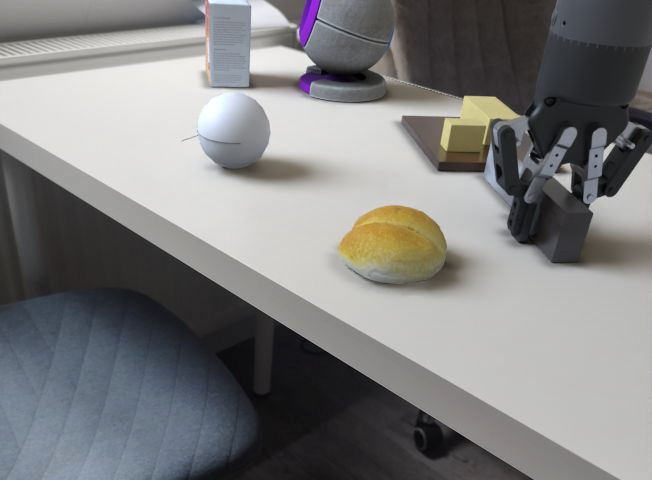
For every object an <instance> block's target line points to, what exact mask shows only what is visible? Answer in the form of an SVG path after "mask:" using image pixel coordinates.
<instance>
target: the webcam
mask: <svg viewBox="0 0 652 480" xmlns="http://www.w3.org/2000/svg"><path fill="white" fill-rule="evenodd" d="M300 19H301V20H300V23H299V28H298V37H299V42H300V45H301V47H302V49H303V50H304V52H305V54H306V56H307V57H308V58H309V60H310V61H311V62H312V63H313V64H314V65H308V66H307V67H306V69H305V73H304V74H302V75H301V76H300V77H299V88H300V89H301V90H302V91H303V92H305V93H307V94H308V95H309V97H311V98H316V99H320V100H325V101H326V100H327V101H334V102H342V103H343V102H344V103H345V102H348V103H354V102H355V103H359V102H369V101H374V100H378V99H380V98H382V97H383V96H385V94H386V89H387V81H386V79H385V77H384V76H383V75H382V74H380V73H378V72H376V71H373V70H371V68H372V67H374V66H375V65H376V64H377V63H378V62H380V61H381V59H382V58H383V57H384V55H385V54H386V52H387V51H388V49H389V47H390V45H391V44H392V40H393V37H394V34H395V33H394V32H395V26H396V25H395V24H396V23H395V22H396V17H395V11H394V5H393V2H392V0H306V1H305V4H304V8H303V11H302V15H301V18H300Z"/></svg>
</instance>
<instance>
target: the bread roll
mask: <svg viewBox="0 0 652 480" xmlns="http://www.w3.org/2000/svg"><path fill="white" fill-rule="evenodd" d="M447 250H448V244H447V239H446V237H445V235H444V232H443V231H442V229H441V227H440V224H438V222H436V221H435V220H434V219H433V218H432V217H430V216H429V215H428V214H426V213H425V212H424V211H422V210H419V209H416V208H413V207H409V206H404V205H399V204H392V205H391V204H390V205H384V206H378V207H377V208H374V209H372V210H370V211H368V212H366V213H363V214H362V215H361V216H359V218H358V219H357V220H356V221H355V222H354V224H353V226H352V228H351V230H350V231H348V232H347V233H346V234H344V236H343V238H342V239H341V241H340V242H339V245H338V256H339V258H340V261H342V262H343V263H344V264H346V266H347V267H348V268H350V270H352V271H354V272H355V273H357V274H359V275H360V276H362V277H363V278H366V279H367V280H370V281H373V282H377V283H383V284H389V285H390V284H391V285H400V284H402V285H403V284H411V283H418V282H422V281H427V280H429V279H430V278H432V277H434V276H436V274H437V273H439V271H440V270H441V269H442V268H443V266H444V263H445V262H446V258H447V254H448V251H447Z"/></svg>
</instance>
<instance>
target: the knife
mask: <svg viewBox="0 0 652 480" xmlns="http://www.w3.org/2000/svg"><path fill="white" fill-rule="evenodd" d="M522 168H523V163H522V162H521V161H520V160H519V159H518V169H519V174H520V172H521V170H522ZM483 178H484V180H485V181H486V182H487V183H488V184H489V185H490V186H491V187H492V188H493V189H494V190H495V192H496V193H497V194H498V195H499V197H501V199H502V200H504V201H505V203H506V204H507V205H508V206H509V207H510V208H511V205H512V202H513V197H514V196H509V195H508V194H507V193H506V192H505V191H504V190H503V189H502V188H501V187H500V186H499V185H498V184H497V182H496V177H495V168H494V160H493V151H492V142H491V144H490V149H489V153H488V158H487V162H486V167H485V171H483ZM535 202H536V203H537V207H536V211H535V214H534V218H533V222H532V225H531V229H530V232H529V236H528V238H530V240H531V241H532V242H533V243H534V244H535V245H536V247H537V248H538V249H539V251H541V252H542V253H543V255H544V256H545V257H546V258H547V259H548V260H549V261H550V263H578V262H579V259H580V256H581V253H582V250H583V247H584V244H585V241H586V238H587V235H588V233H589V229H590V225H591V224H592V223H591V222H592V220H593V216H594V213H595V212H593V211H592V210H591V209H590V208H589V209H588V208H587V207H586V206H585V205H584V204H583V203H582V202H581V201H579V200H578V199H577V198H576V197H575V196H574V195H573V194H572V191H570V190H569V189H567V188H566V186H564V185H563V184H562V183H560V181H559V180H558V179H556V178H555V177H554V176H553V177H552V178H551V179H550V180H547V181H546V183H545V185H544V187H543V189H542V191H541V193H540V194H539V196H538V198H537V200H536V201H535Z"/></svg>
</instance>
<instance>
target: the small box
mask: <svg viewBox="0 0 652 480" xmlns="http://www.w3.org/2000/svg"><path fill="white" fill-rule="evenodd" d="M204 24H205V26H204V28H205V29H204V30H205V31H204V32H205V35H204V36H205V37H204V39H205V44H204V45H205V72H206V75H207V79H208V84H209V87H212V88H216V87H217V88H218V87H219V88H220V87H221V88H222V87H223V88H249V87H250V73H251V72H250V71H251V70H250V68H251V67H250V66H251V64H250V63H251V35H252V33H251V31H252V5H251V4H250V2H249V1H248V0H204Z"/></svg>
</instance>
